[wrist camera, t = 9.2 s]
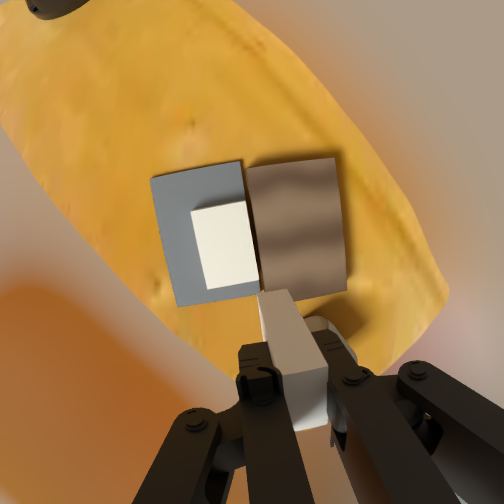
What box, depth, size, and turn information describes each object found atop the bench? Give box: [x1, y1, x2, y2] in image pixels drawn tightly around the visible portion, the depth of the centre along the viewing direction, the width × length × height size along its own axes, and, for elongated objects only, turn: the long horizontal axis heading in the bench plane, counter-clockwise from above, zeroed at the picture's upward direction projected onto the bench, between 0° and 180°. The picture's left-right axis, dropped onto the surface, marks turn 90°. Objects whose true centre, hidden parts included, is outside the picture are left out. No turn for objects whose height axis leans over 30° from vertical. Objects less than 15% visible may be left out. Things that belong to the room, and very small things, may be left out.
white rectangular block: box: [191, 200, 259, 290], centre depth 33 cm, size 9×6×2 cm, turn 10°
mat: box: [150, 161, 261, 307], centre depth 34 cm, size 16×10×1 cm, turn 9°
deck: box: [245, 158, 347, 302], centre depth 34 cm, size 16×10×2 cm, turn 9°
